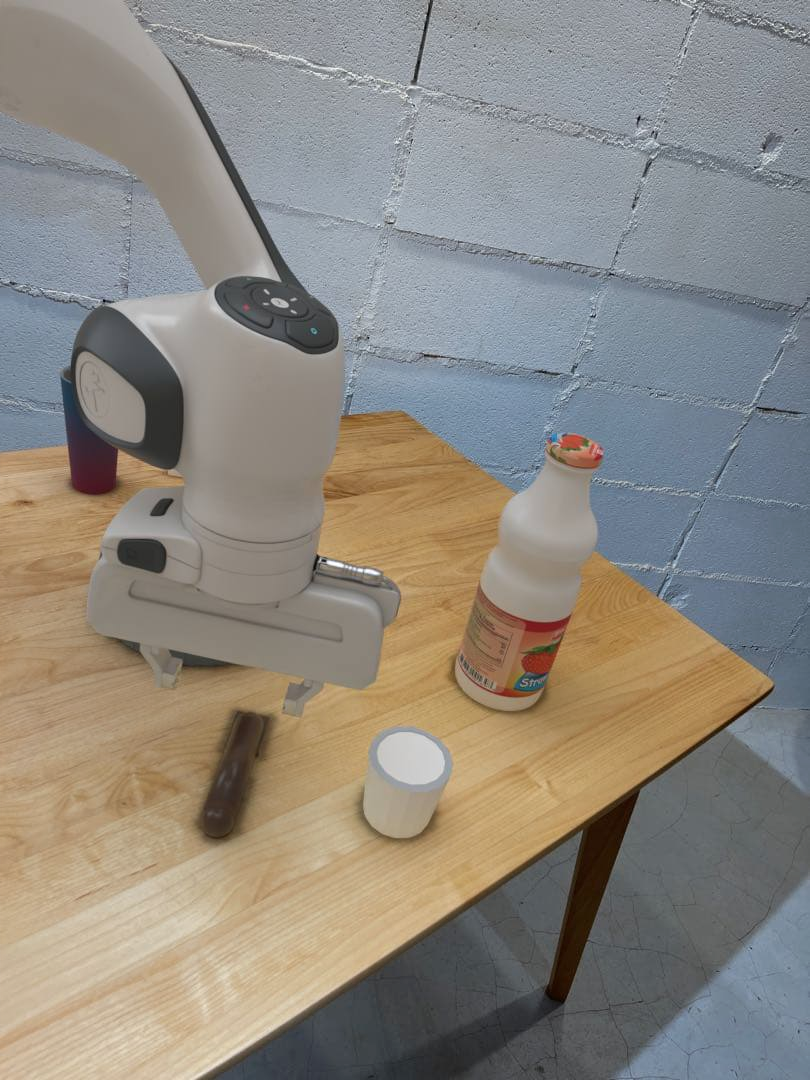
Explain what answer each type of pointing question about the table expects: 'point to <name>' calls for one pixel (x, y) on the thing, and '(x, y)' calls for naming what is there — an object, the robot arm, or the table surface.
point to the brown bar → (233, 773)
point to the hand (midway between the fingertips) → (230, 696)
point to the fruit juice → (531, 580)
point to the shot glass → (404, 780)
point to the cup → (86, 448)
